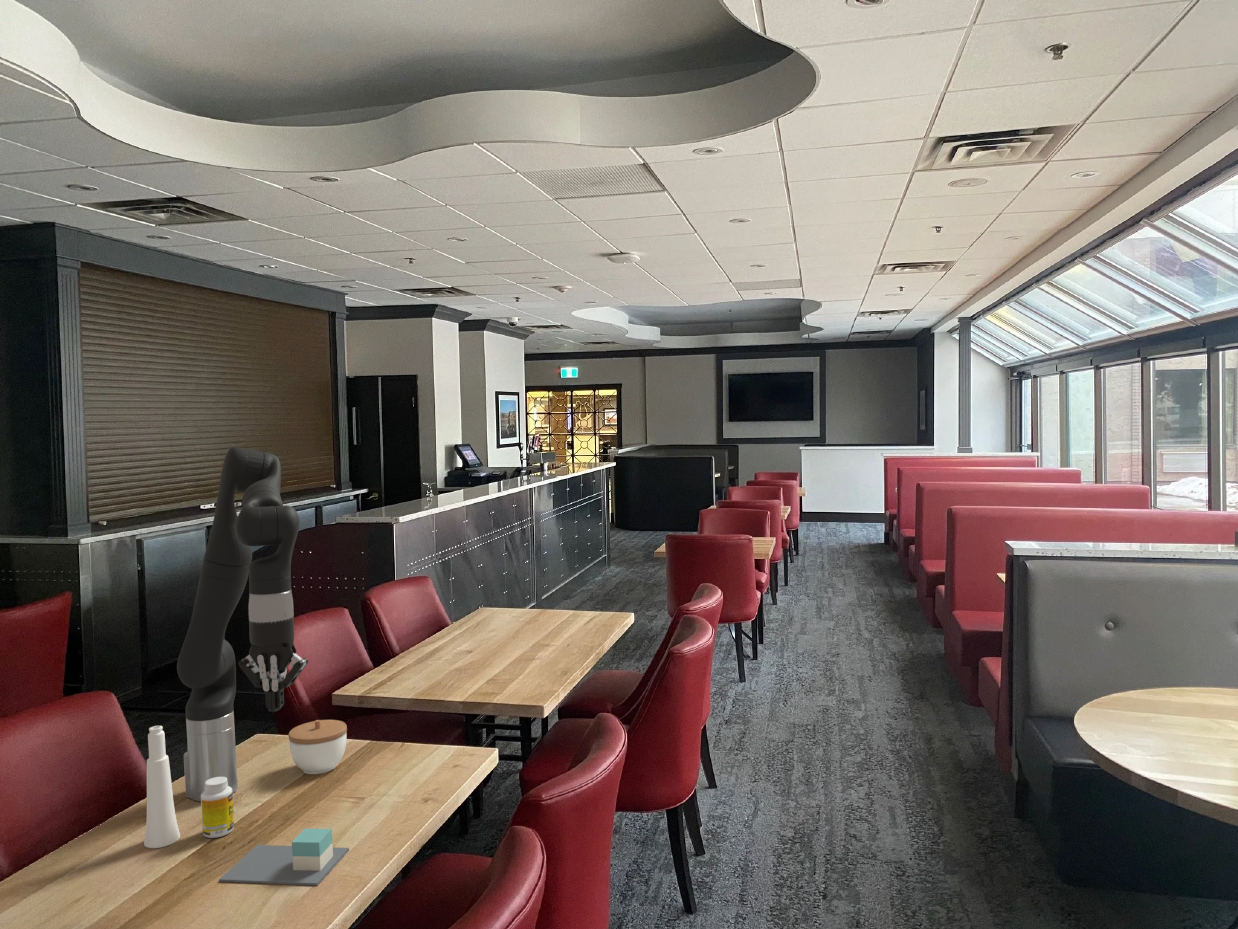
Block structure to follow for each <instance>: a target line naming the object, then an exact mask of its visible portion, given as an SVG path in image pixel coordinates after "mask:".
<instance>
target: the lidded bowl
mask: <svg viewBox="0 0 1238 929" xmlns="http://www.w3.org/2000/svg"><path fill="white" fill-rule="evenodd" d="M347 731H348V727H347V724H346V722H344V721H342V720H338V719H316V720H314V721H309V722H306V723H302V724H299V725H297V726H295V727H293V728H292V729H291V730H289V733H288V740H289V750H290V755H291V758H292V760H293V762H294V764H295V765H296V766H297V767H298V768H299V769H301V770H302V772H303V773H305V774H307V775H321V774H325V773H328V772H330V771H333V770H334V769H335V768H337V765H338V764H339V763H340V761H341V760H343V759H342V758H343V757H344V754H345V751H346V747H347Z"/></svg>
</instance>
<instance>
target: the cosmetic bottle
mask: <svg viewBox="0 0 1238 929" xmlns="http://www.w3.org/2000/svg"><path fill="white" fill-rule="evenodd" d="M163 727H164V726H162V725H154V726H150V727H149V728H148V730H149V733H148V734H147V741H148V742H147V744H148V758H147V759H146V824H145V825H146V826H145V835H144V843H143V845H144V847H146V848H147V849H159V848H165V847H168V846H170V845H172V844H175V843H176V842H177V841H178V840H179V839H181V833H180V830H179V825H178V821H177V816H176V810H175V803H174V794H173V787H172V776H171V767H170V758H169V755H168V754H166V753H167V752H166V738H165V736H166V735H165V731H164V730H163V729H164V728H163Z"/></svg>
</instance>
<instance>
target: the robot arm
mask: <svg viewBox="0 0 1238 929" xmlns="http://www.w3.org/2000/svg"><path fill="white" fill-rule="evenodd" d="M281 465H282V464H281V462H280V459H279V457H278V456H277V455H276V454H273V453H271V452H267V451H259V450H255V449H251V448H250V449H249V448H243V447H238V446H232V447H230V448H229V450H228V451H227V452H226V455H225V457H224V459H223V463H222V468H221V473H220V474H221V475H220V480H219V485H218V486H219V487H218V493H217V499H216V503H215V504H216V505H215V509H214V517H213V520H212V521H213V522H212V525H211V529H210V533H209V537H208V541H207V544H206V549H205V553H204V556H203V560H202V564H201V569H200V574H199V579H198V580H199V581H198V586H197V588H196V589H197V590H196V593H195V599H194V605H193V609H192V614H191V617H190V618H191V619H190V622H189V625H188V629H187V632H186V635H185V638H184V641H183V643H182V646H181V650H180V653H179V654H178V658H177V662H176V671H177V675H178V678H179V679H180V681H181V683H182V684H183V685H184V686H185V687H188V688H189V689H191V692H190V696H189V698H188V701H187V702H186V706H185V723H186V738H187V741H186V742H187V751H186V752H184V753H183V765H184V767H183V768H184V769H183V771H184V784H185V785H184V786H185V798H189V799H191V800H193V801H197V802H201V794H202V793H203V792H204V791H205V782H206V781H207V780H209V779H211V778H215V777H226V778H227V782H228V786H229V787H231V788H232V792H233V793H235V792H236V791H237V790H238V773H237V772H238V771H237V770H238V768H237V751H236V734H235V733H236V732H235V715H234V714H235V713H234V703H235V699H236V698H235V697H236V692H237V678H236V677H237V665H238V666H239V668H240V669H241V671H242V672H243V673H244V675H246V677H247V678H248V680H249V681H250V682H251V684H252V685H253V686H254V688H256V689H257V688H258V689H259V688H260V689H262V690H263V691H264V698H265V707H266V708H267V710H268V712H278V711H280V710H281V709H282V707H283V706H284V704H285V689H286V688H288V687H289V686H290V687H291V685H293V684H294V683H295V681H296V680H297V679H298V677H299V676H300V675H301V673H302V672H303V671H304V669H305V668H306V667H307V665H308V664H309V659H308V658H306V657H303V658H302V657H301V656H299V655H298V654H297V648H296V646H295V643H294V641H295V619H294V618H295V616H294V615H295V614H294V598H293V593H292V581H291V580H292V578H291V577H292V576H291V575H292V574H291V570H292V568H291V567H292V557H293V552H294V548H295V544H296V541H297V538H298V534H299V530H300V524H301V523H300V517H299V513H298V512H297V511H296V509H295V508H294V507H292V506H289V505H284V503H283V501H282V497H281V485H282V484H281V483H282V466H281ZM236 492H238V493H239V492H240V493H243V495H242V496H241V497H242V498H241V499H242V500H241V505H242V506H241V507H242V508H241V510H240V511H239V512H238V513H237V510H236V504H235V496H236ZM276 545H278V546H277V547H278V548H277V550H276V551H275V552H274V553H273V554H271V555H269V556H265V557H261V558H258V559H256V560H253V552H252V549H251V547H262V546H276ZM252 560H253V561H252ZM247 582H249V583H248V589H249V590H248V591H249V597H248V624H249V625H248V626H249V628H248V629H249V630H248V631H249V643H250V644H251V645H250V649H249V651H248V653H249V654H248V655H247V656H245V657H244V658H242V659H241V660H239V661H238V662H237V665H236V656H235V651H234V649H233V646H232V645H231V644H230V643H229V641H228V640H226V639H225V635H226V630H227V626H228V623H229V621H230V619H231V617H232V615H233V613H234V611H235V609H236V607H237V605H238V603H239V601H240V599H241V597H242V596H243V593H244V591H245V588H246V585H247ZM289 665H290V666H289ZM288 667H290V668H291V669H290V670H289V672H288Z"/></svg>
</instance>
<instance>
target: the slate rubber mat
mask: <svg viewBox="0 0 1238 929" xmlns="http://www.w3.org/2000/svg"><path fill="white" fill-rule="evenodd" d="M349 851H350V848H349V847H338V846H337V847H336V846H333V857H332V858H331V859H330V860H329V861H328V863H327V864H326V865H325V866H324V867H323V868H322V870H321V871H313V870H293V856H292V845H279V844H277V845H274V844H272V845H271V844H257V845H256V846H254V847H253V848H252V849H250V851H249V852H248V853H246V854H245V855H244V856H243V857H242V858H241V859H240V860H239V861H237V863H235V865H232V867H231V868H230V869H229V870H227V871H226V873H224V874H223V875H222V876H221V877H219V879H218V882H220V883H221V882H224V883H248V884H267V885H268V884H271V885H294V886H295V885H297V886H316V887H317V886H319V885H320V884H321V883H322V881H323V880H324V879H325V878H326V877H327V876H328V875H329V873H330V872H331V871H332V870H333V869H334V868H335V867H336V866H337V865H338V863H339V862H340V861H341V860H342V859H343V857H344V856H346V854H347V853H348V852H349Z"/></svg>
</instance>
